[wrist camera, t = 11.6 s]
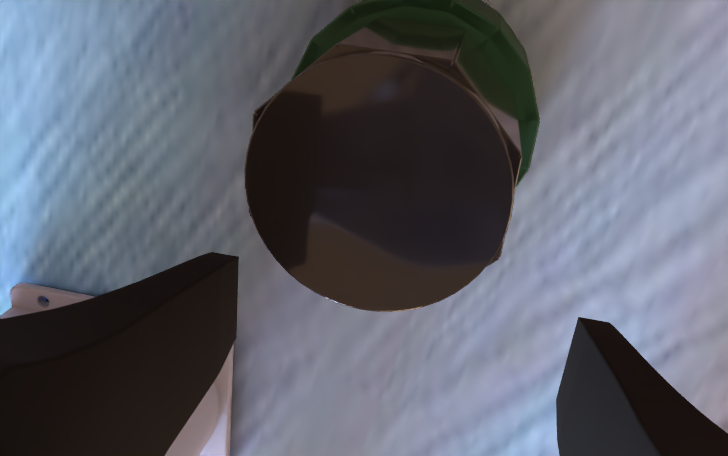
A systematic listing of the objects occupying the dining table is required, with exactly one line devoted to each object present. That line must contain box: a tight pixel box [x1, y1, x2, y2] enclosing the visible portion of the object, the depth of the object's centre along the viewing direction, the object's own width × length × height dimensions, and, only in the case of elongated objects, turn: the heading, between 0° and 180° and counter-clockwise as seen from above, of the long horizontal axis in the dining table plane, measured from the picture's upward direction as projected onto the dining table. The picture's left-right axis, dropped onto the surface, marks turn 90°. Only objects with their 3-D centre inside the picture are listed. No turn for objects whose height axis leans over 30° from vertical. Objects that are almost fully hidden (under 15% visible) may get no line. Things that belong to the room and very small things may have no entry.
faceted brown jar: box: [245, 17, 522, 312], centre depth 16 cm, size 5×5×6 cm
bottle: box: [291, 0, 540, 187], centre depth 19 cm, size 7×7×6 cm
